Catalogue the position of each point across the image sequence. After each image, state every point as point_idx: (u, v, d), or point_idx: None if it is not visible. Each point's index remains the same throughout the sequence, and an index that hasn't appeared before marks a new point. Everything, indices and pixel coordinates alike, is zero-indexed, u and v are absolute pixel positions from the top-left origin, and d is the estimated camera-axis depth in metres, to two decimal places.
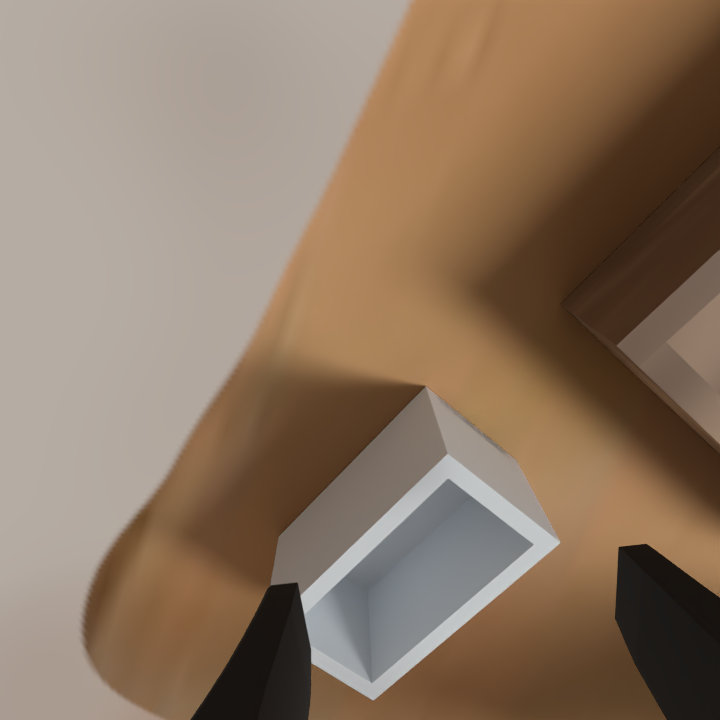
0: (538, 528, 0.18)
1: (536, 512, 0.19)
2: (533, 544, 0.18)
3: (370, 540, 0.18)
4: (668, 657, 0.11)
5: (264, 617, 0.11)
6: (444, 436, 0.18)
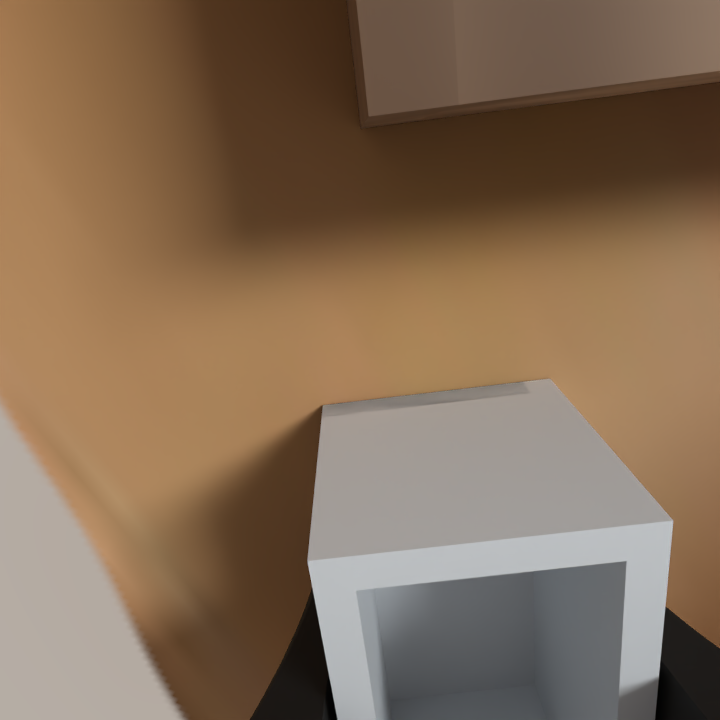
0: (602, 533, 0.08)
1: (593, 485, 0.09)
2: (625, 560, 0.08)
3: None
4: None
5: (315, 611, 0.11)
6: (321, 506, 0.09)
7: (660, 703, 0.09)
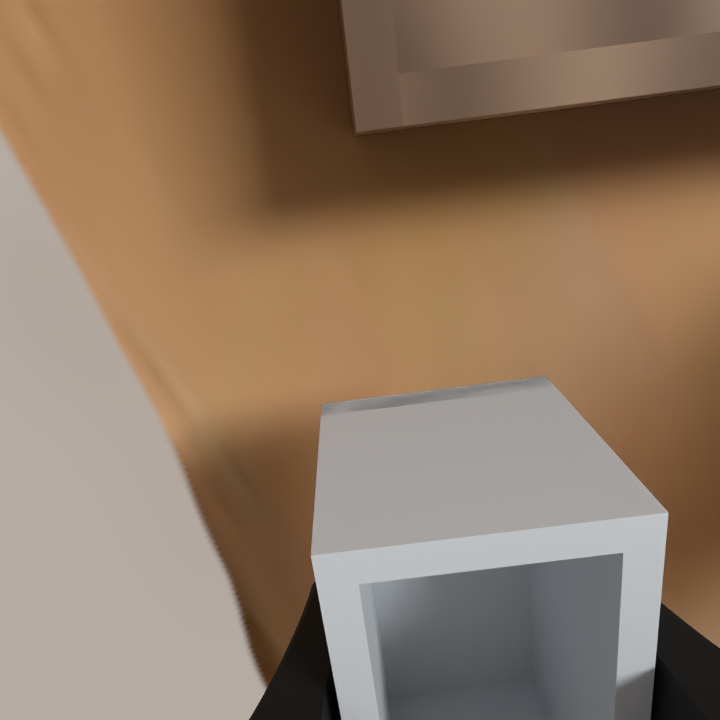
0: (599, 525, 0.08)
1: (590, 479, 0.09)
2: (622, 552, 0.08)
3: None
4: None
5: (315, 611, 0.11)
6: (323, 503, 0.09)
7: (661, 703, 0.09)
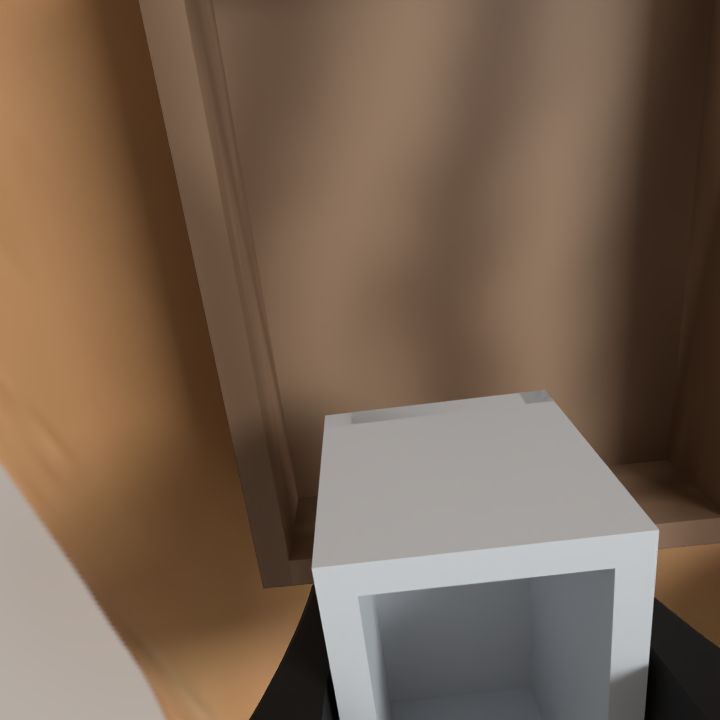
0: (592, 542, 0.08)
1: (584, 495, 0.09)
2: (613, 567, 0.08)
3: None
4: None
5: (315, 611, 0.11)
6: (324, 515, 0.09)
7: (661, 703, 0.09)
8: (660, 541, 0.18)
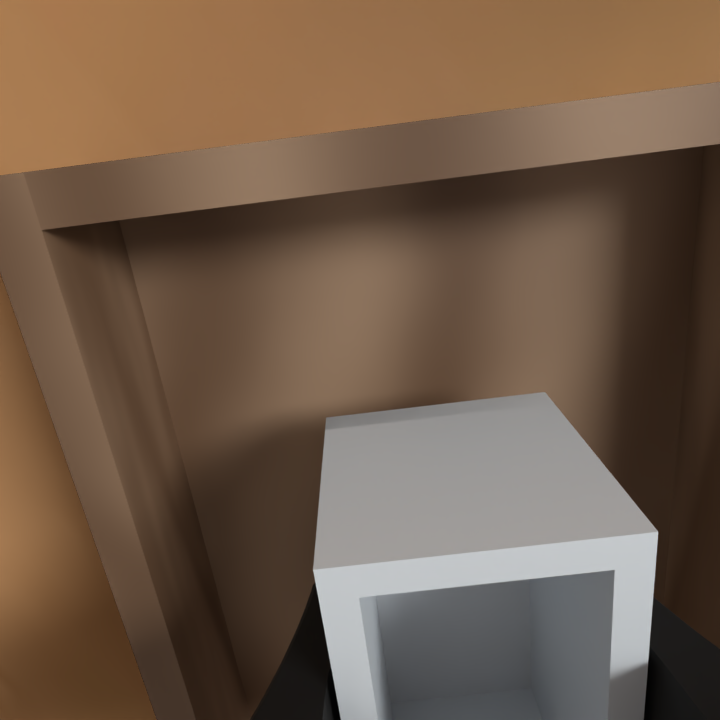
0: (591, 543, 0.08)
1: (584, 497, 0.09)
2: (613, 569, 0.08)
3: None
4: None
5: (315, 611, 0.11)
6: (325, 517, 0.09)
7: (660, 703, 0.09)
8: None
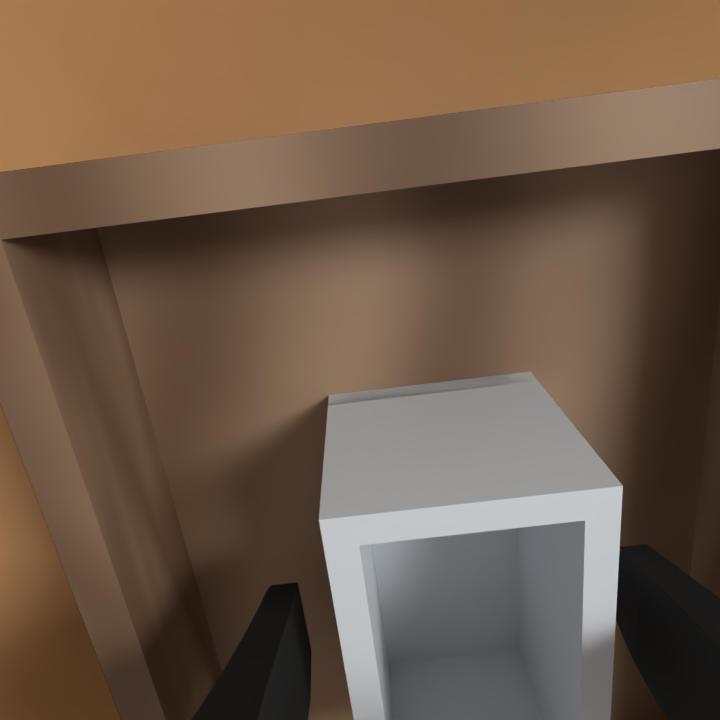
0: (564, 496, 0.09)
1: (560, 459, 0.10)
2: (583, 520, 0.09)
3: (363, 685, 0.11)
4: (667, 657, 0.11)
5: (264, 617, 0.11)
6: (329, 478, 0.10)
7: None
8: None
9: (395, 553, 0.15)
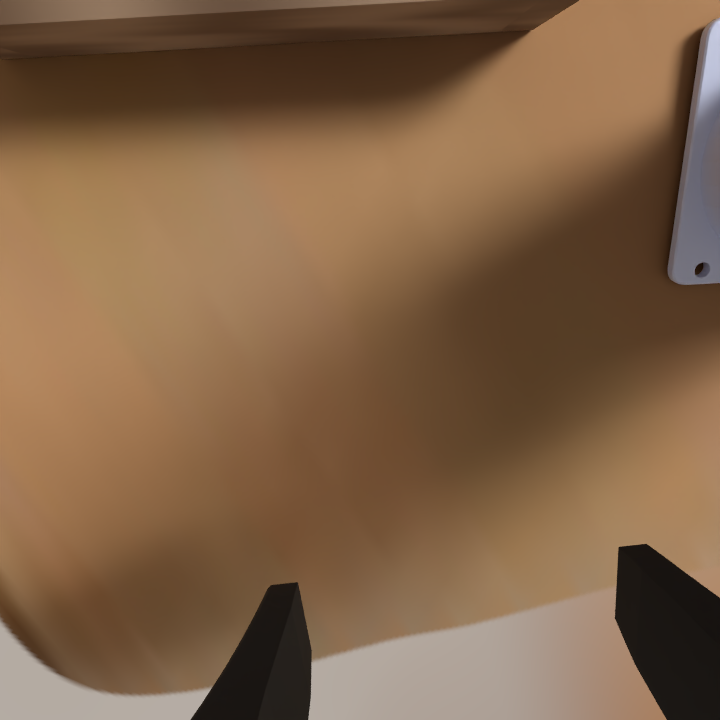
0: None
1: None
2: None
3: None
4: (667, 658, 0.11)
5: (264, 617, 0.11)
6: None
7: None
8: None
9: None
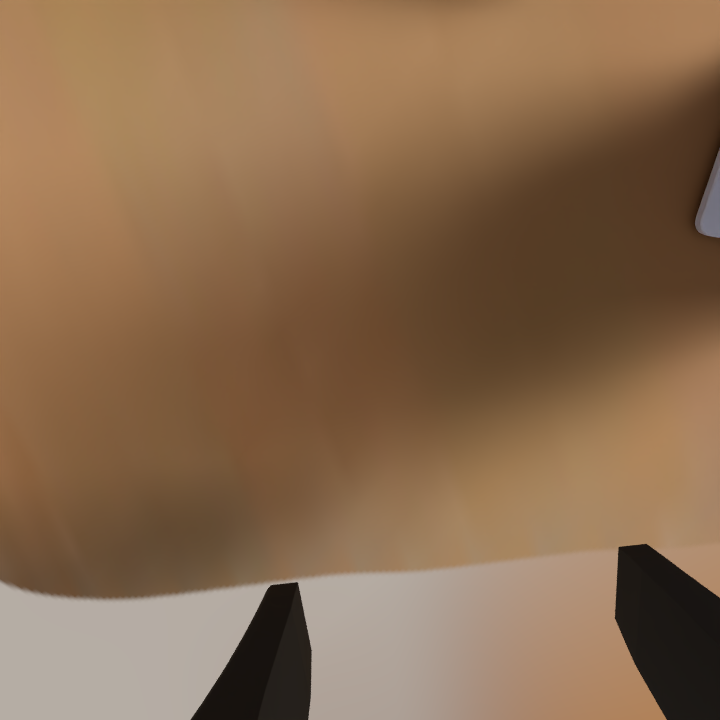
0: None
1: None
2: None
3: None
4: (667, 657, 0.11)
5: (264, 617, 0.11)
6: None
7: None
8: None
9: None
